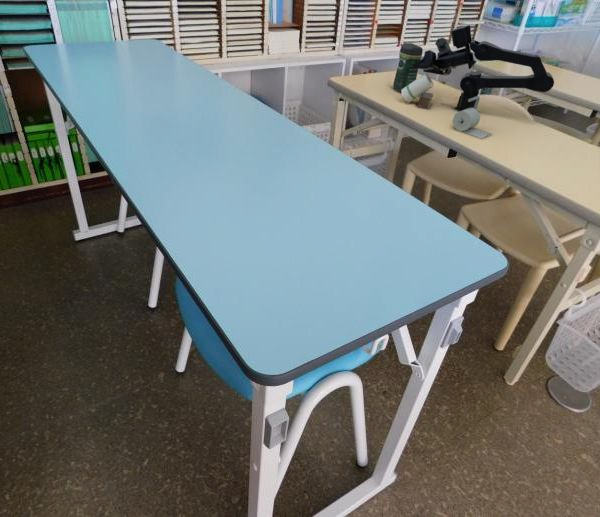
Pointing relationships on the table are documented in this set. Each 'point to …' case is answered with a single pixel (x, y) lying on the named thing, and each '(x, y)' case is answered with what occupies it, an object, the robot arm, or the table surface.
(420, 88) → the cylindrical container with lid
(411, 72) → the coffee jar
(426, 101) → the wooden block
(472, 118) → the toilet paper roll
